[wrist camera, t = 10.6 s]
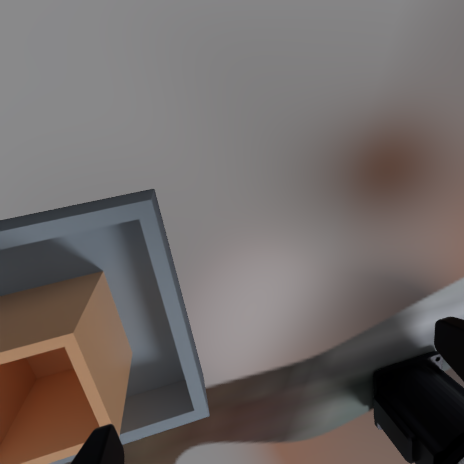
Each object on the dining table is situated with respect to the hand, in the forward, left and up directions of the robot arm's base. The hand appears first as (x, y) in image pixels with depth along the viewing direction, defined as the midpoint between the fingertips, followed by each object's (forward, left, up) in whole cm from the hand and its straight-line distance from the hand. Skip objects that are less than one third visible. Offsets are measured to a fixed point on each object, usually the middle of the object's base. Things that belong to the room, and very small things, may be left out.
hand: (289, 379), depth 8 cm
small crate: (+10, +3, -11) cm, 15 cm away
